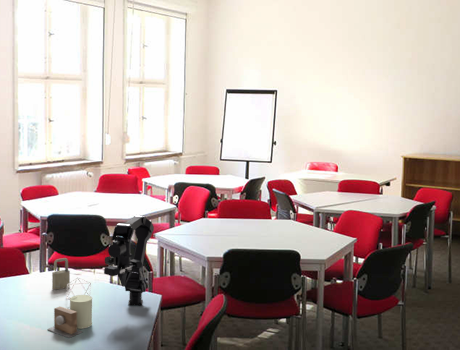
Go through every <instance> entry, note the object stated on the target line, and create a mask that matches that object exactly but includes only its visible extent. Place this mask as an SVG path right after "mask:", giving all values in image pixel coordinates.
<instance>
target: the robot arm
mask: <svg viewBox="0 0 460 350" xmlns="http://www.w3.org/2000/svg"><path fill="white" fill-rule="evenodd" d="M154 230H155V226H154V224H153V223H152V221H151V220H149V219H148V218H146V216H145V215H141V214H136V215H134V216H133V217H132V218H131V219H129V220H128V221H126V222H119V223H117V224H116V225H115V227H114V229H113V233H112V236H111V241H112V244H110V245H109V247H108V248H107V253H108V255H109V256H106V257H104V264H105V265H108V266H105V268H104V269H103V274H104V275H107V276H112V277H115V276H117V277H118V280H119V282H120V284H121V286H122V287H124V289H125V292H129V294H128V295H129V300H128V304H127V306H143V303H144V302H143V299H142V298H143V293H146V290H147V284H146V282H145V279H144V277H145V276H144V275H143V272H142V271H143V267H144V260H145V256H146V255H145V254H146V247H147V245H148V244H147V243H148V241H149V240H150V239H151V238H152V235H153V232H154ZM134 234H135V237H136V245H135V248H134V249H135V250H134V255H133V253H131V241H132V238H133V235H134ZM132 257H133V259H131V258H132Z"/></svg>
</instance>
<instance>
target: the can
mask: <svg viewBox="0 0 460 350" xmlns="http://www.w3.org/2000/svg"><path fill="white" fill-rule="evenodd" d="M69 299H70V300H69V308H70V310H73V311H76V312H77V330H81V329H82V330H83V329H86V328H89V327H91V326H92V325H93V319H92V318H93V310H92V309H93V297H92V296H91V295H90V296H89V295H88V294H85V295H84V294H77V295H75V296H74V295H73V296H71V297H69Z"/></svg>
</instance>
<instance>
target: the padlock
mask: <svg viewBox="0 0 460 350" xmlns="http://www.w3.org/2000/svg"><path fill="white" fill-rule="evenodd" d="M59 262H64V269H61V270H58V263H59ZM53 269H54V272H52V275H51V276H52V279H51V280H52V287H51V288H52V289H53V290H63V289H68V288H69V287H70V285H67V284H68V283H69V284H71V283H70V282H71V281H70V274H71V273H70V270H69V260H68V258H66V257H63V258H57V259H55V260H54V261H53ZM68 286H69V287H68Z"/></svg>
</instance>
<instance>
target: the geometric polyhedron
mask: <svg viewBox="0 0 460 350" xmlns="http://www.w3.org/2000/svg"><path fill="white" fill-rule="evenodd" d="M74 281H75V282H74ZM77 281H78V283H77ZM81 281H84V282H81ZM72 282H74V283H73V284H72ZM76 284H77V285H81V286H82V288H83V289H84V291H85V292H84V294H83V295H88V296H91V293H89V292H88V290H91V286H92V282H90V281H88V280H85V279H82V278H80V277H76V278H75V279H73V280H72V281H70V284H69V283H68V284H67V285H72V287H71V288H70V287H69V286H68V287H67V288H69V290H70V291H69V292H68V293H67V295H66V299H67V300H69V301H70V298H69V295H70V293H71V294H72V295H73V296H76V295H75V294H74V292H73V291H72V289H73V288H74V286H75V285H76ZM83 284H84V285H86V284H89V285H88V287H87V288H85V286H84V285H83Z"/></svg>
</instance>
